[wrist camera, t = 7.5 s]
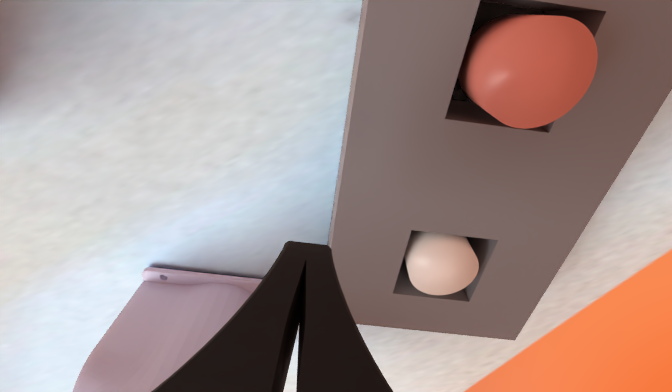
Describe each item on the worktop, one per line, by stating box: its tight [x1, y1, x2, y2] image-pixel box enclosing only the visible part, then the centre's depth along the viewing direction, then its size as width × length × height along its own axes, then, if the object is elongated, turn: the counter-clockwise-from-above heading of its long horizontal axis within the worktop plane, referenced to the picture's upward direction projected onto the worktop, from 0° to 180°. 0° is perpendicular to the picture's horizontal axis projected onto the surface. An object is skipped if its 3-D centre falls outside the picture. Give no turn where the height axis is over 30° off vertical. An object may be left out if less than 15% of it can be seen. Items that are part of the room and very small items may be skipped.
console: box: [328, 0, 672, 340], centre depth 17 cm, size 12×20×4 cm, turn 173°
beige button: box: [404, 230, 479, 295], centre depth 18 cm, size 4×4×3 cm
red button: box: [458, 14, 598, 129], centre depth 12 cm, size 4×4×3 cm
